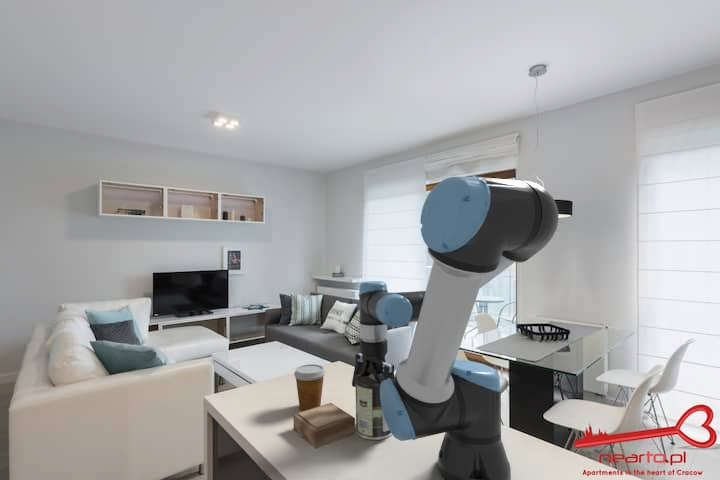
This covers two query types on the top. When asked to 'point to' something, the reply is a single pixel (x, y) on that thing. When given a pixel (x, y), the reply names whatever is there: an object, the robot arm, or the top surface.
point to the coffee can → (369, 409)
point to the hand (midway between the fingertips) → (374, 421)
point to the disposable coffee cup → (309, 385)
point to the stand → (324, 424)
